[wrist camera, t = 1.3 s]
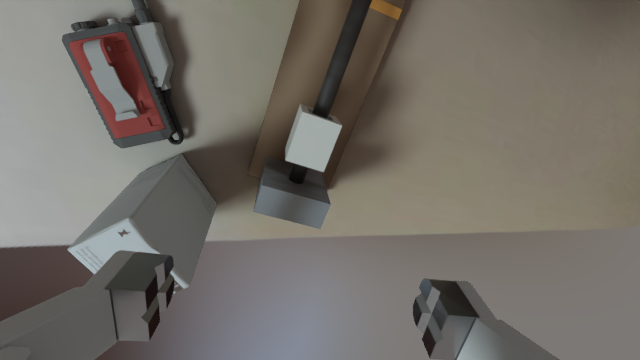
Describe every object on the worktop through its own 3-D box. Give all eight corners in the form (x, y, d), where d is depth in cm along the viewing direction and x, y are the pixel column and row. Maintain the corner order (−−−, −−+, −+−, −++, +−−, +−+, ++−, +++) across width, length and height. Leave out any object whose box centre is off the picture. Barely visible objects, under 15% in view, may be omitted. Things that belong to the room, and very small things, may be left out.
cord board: (248, 170, 38) (237, 210, 29) (332, -110, 27) (356, -185, 18) (322, 191, 40) (334, 235, 31) (425, -59, 30) (487, -104, 21)
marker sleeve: (285, 147, 33) (285, 160, 29) (300, 103, 31) (302, 111, 27) (319, 158, 34) (323, 172, 30) (335, 116, 32) (342, 125, 28)
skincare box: (141, 171, 36) (56, 246, 23) (185, 150, 36) (124, 215, 22) (181, 224, 40) (129, 316, 26) (222, 206, 39) (189, 290, 26)
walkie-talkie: (204, 135, 36) (127, -74, 27) (193, 147, 32) (100, -95, 23) (130, 151, 36) (31, -55, 27) (111, 165, 32) (-13, -72, 23)
